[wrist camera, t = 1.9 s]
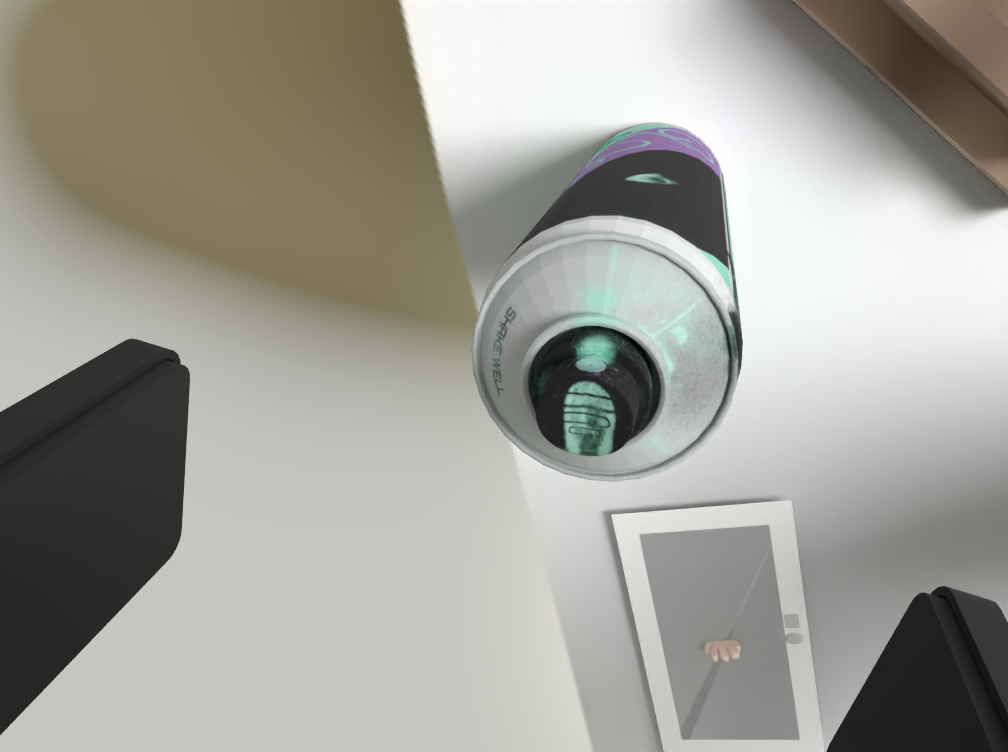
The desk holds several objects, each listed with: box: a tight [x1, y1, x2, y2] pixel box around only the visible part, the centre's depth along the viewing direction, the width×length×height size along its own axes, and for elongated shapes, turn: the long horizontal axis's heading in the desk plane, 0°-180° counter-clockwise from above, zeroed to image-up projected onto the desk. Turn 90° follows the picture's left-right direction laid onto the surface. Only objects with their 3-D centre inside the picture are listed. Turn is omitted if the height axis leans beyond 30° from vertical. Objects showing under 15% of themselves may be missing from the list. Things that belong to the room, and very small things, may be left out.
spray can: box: [472, 123, 743, 481], centre depth 23 cm, size 6×6×20 cm
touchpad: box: [611, 500, 825, 752], centre depth 39 cm, size 8×15×2 cm, turn 15°
